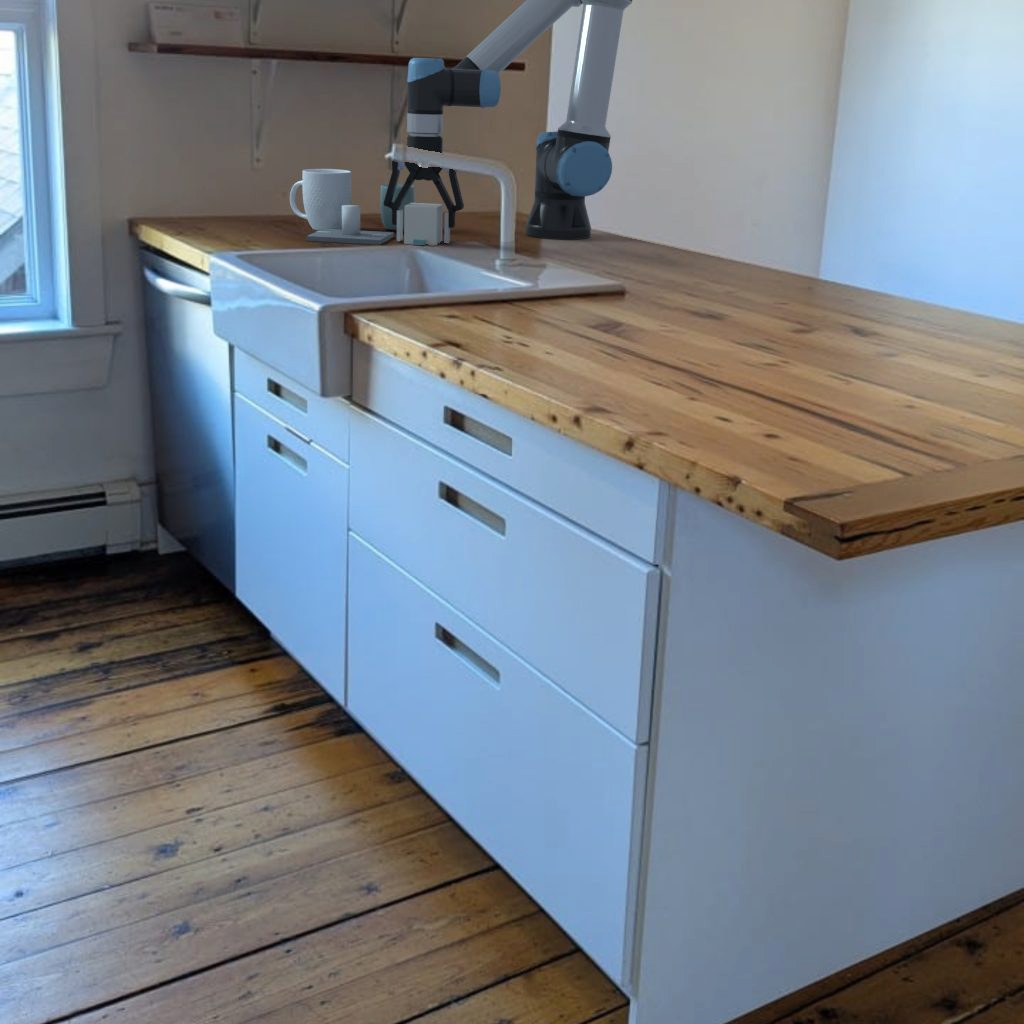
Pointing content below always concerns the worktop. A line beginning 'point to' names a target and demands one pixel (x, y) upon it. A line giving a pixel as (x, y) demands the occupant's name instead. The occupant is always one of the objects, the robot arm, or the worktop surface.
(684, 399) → the worktop surface
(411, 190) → the cup
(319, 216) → the mug
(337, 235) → the post plate
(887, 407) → the worktop surface
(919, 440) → the worktop surface
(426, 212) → the grey cube
